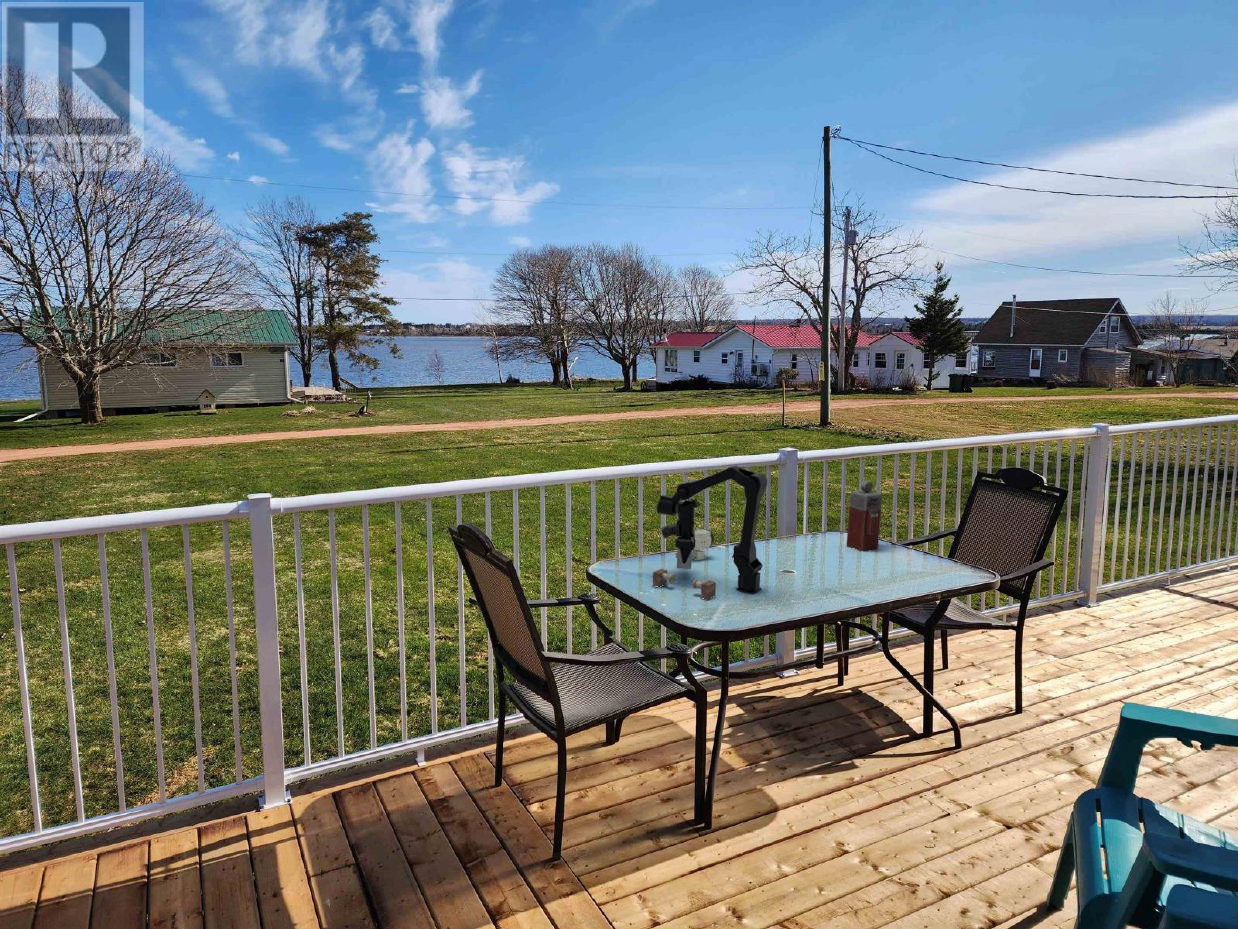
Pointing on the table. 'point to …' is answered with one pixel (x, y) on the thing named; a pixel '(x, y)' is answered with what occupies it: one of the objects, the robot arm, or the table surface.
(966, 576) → the table surface
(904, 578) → the table surface
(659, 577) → the shaft stand
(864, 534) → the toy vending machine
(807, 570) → the table surface
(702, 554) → the pneumatic valve
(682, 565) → the coupling block
